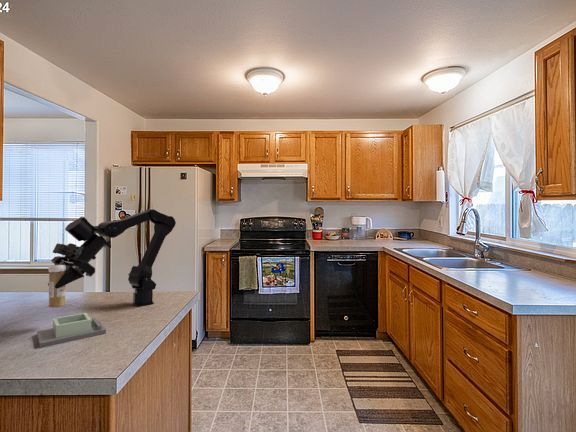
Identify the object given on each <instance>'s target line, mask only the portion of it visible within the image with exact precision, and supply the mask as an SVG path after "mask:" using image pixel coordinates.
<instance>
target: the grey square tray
mask: <svg viewBox="0 0 576 432" xmlns="http://www.w3.org/2000/svg"><path fill="white" fill-rule="evenodd" d="M105 334H107V329H106V327H105V326H104V325H103V324H102V323H101V321H100V320H99V319H97V318H96V317H92V318H91V317H90V316H89V314H88V313H87V312H82V313H76V314H71V315H70V314H69V315H65V316H59V317H58V316H57V317H53V318H52V328H51V327H50V328H46V329H40V330H37V331H36V337H37V341H38V345H39V348H46V347H49V346H50V347H51V346H55V345H59V344H64V343H68V342H69V343H70V342H73V341H78V340H81V339H82V340H83V339H86V338H91V337H96V336H99V335H105Z"/></svg>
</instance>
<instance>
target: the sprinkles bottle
mask: <svg viewBox="0 0 576 432" xmlns="http://www.w3.org/2000/svg"><path fill="white" fill-rule="evenodd" d="M65 272H66V265H54V264H53V265H49V266H48V273H49V275H48V283H49V286H48V307H49V308H52V309H54V308H55V309H56V308H61V307H64V306H66V285H64V286H62V287H60V288H58V289H57V288H55V285H56V284H57V282H58V281H59V280H60V279H61V277H62V276H63V275H64V273H65Z"/></svg>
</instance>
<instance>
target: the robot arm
mask: <svg viewBox="0 0 576 432" xmlns="http://www.w3.org/2000/svg"><path fill="white" fill-rule="evenodd" d="M147 221H150V222H151V223H153V231H154V232H153V235H152V237H151V239H150V241H149V244H148V246H147V248H146V249H145V252H144V254H143V256H142V259H141V260H140V262H139V264H138V265H136V266H135V265H132V267H131V268H130V271H129V273H128V274H127V275H128V278H127V280H128V284H130V286H131V288H132V289H134V292H133V294H132V304H133V305H135V306H136V307H143V306H147V305H152V304H155V302H154V301H153V297H154V296H153V290H156V286H157V283H156V282H155V281H154V280H152V276H153V265H154V263H155V262H156V259H157V257H158V254H159V252H160V250H161V247H162V245H163V243H164V241H165V239H166V237H167V236H168V235H169V234H170V233H171V232H173V229H175V226H176V219H175V218H174V216H169V215H167V214H166V213H165V214H164V213H161V212H159V211H157V210H155V209H152V208H151V209H145V210H143V211H141V212H138V213H135V214H133V215H129V216H126V217H124V218H121V219H115V220H109V221H108V220H107V221H103V222H101V223H99V224H98V225H92V223H90V221H88V219H87V218H86V217H85V216H80V217H79V218H76V219H75V220H73V221H72V222H69V224H67V225H66V226H65V229H64V230H65V232H67V233H68V234H70V235H71V236H72V237H73V238H74V239H75V240H77V241H78V242H82V241H83V243H82V244H81V245H80V246H77V244H74V243H70V242H69V243H68V244H63V243H56V244H55V247H53V250H52V253H53V254H57V255H58V256H54V257H53V258H52V259H51V260H50V262H52V264H53V265H66V272H65V273H64V275H63V276H62V277H61V279H60V280H59V281H58V282H57V284H56V285H55V288H57V289H58V288H60V287H62V286H64V285H65V286H66V285H68V284H70V283H72V282H74V281H77V280H79V279H81V278H85V276H87V277H90V278H91V277H92V276H94V274H96V268H95V266H93V265H92V264H90V263H89V262H91V261H92V260H93V261H95V260H96V259H97V257H96V255H97V254H99V252H100V251H101V250H102V249H103V248H107V249H111V248H112V243H111V240H109V239H108V240H107V239H106V238H110V239H111V238H112V239H115V238H116V237H118V236H120V235H122V234H124V232H125V231H126V230H129V228H133V227H135V226H137V225H140V224H143V223H145V222H147ZM59 255H61V256H59ZM84 274H85V275H84ZM47 286H48V287H49V282H48V284H47Z"/></svg>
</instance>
